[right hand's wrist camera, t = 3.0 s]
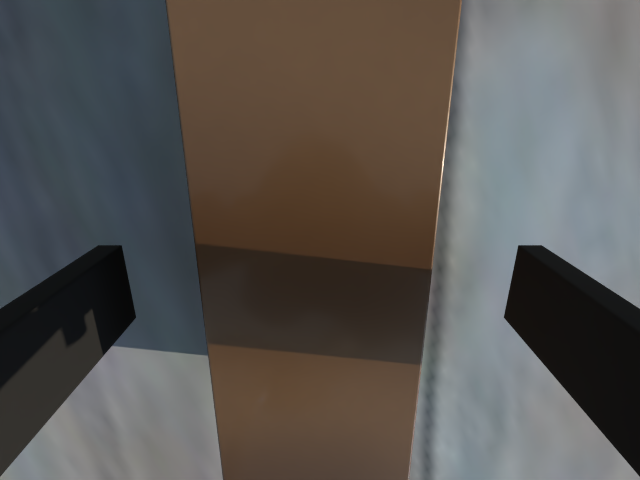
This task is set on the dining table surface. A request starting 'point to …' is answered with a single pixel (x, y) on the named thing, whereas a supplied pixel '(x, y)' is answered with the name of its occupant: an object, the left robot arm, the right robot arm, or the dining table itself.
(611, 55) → the dining table surface
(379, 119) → the post
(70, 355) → the right robot arm
